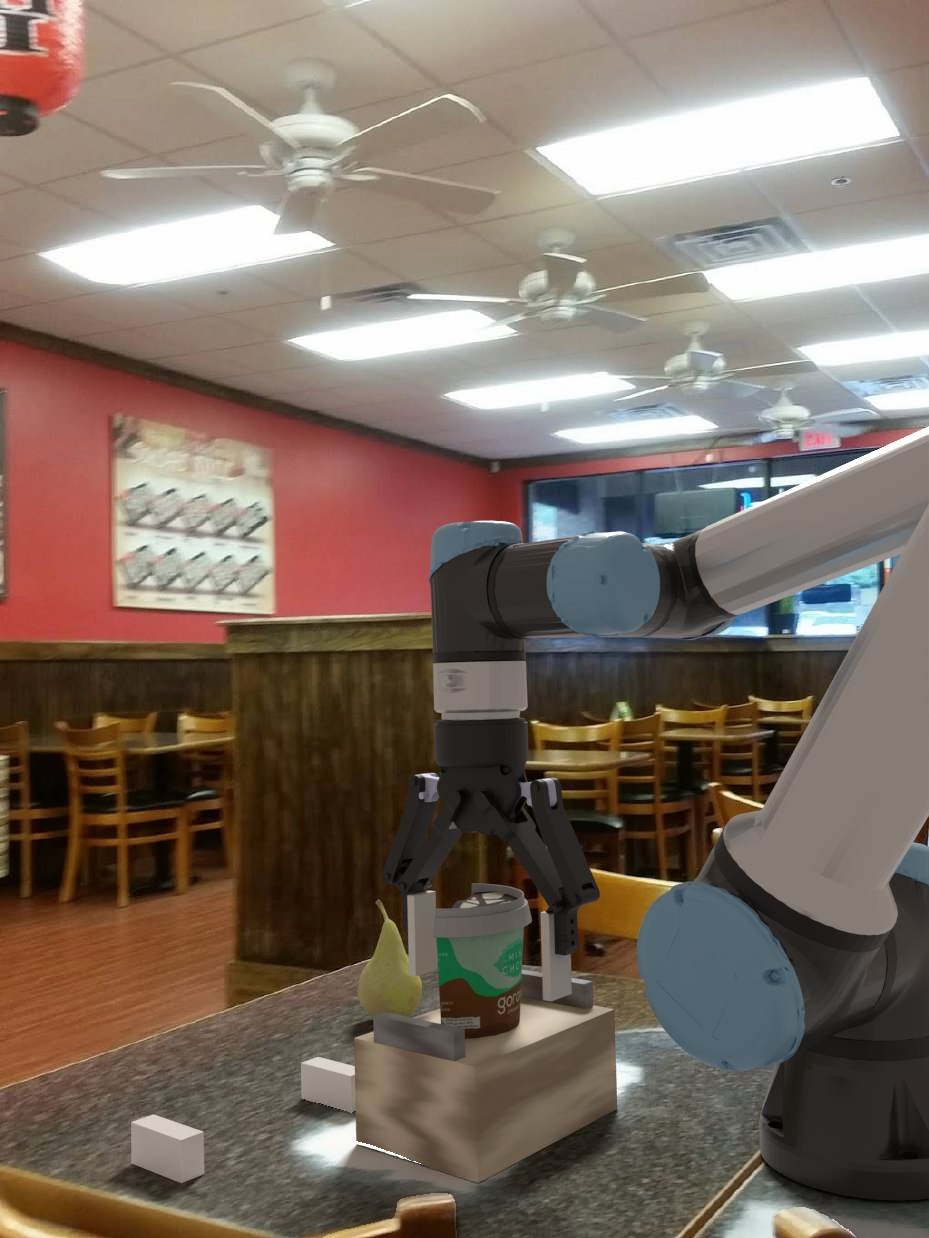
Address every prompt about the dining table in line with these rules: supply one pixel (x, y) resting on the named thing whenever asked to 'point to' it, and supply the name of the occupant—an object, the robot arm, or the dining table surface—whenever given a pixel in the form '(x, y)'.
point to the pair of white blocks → (183, 1147)
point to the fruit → (389, 976)
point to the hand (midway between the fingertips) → (487, 984)
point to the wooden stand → (486, 1082)
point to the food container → (482, 960)
